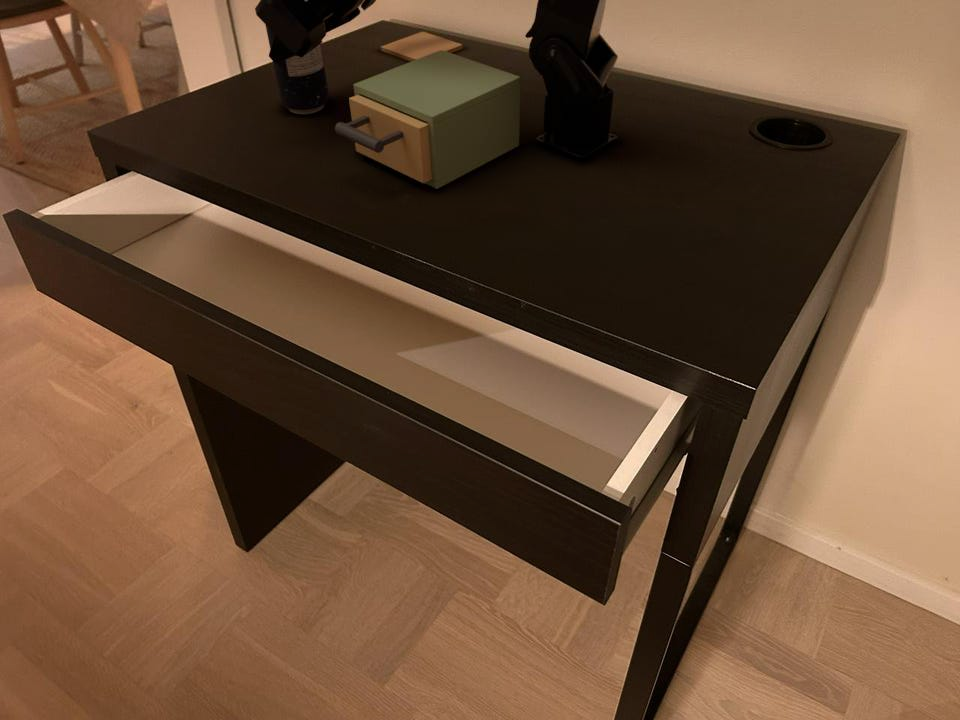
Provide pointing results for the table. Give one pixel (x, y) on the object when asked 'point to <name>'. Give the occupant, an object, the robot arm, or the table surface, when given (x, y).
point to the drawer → (389, 137)
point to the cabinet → (453, 109)
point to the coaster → (420, 46)
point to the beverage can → (301, 81)
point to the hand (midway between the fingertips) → (285, 50)
